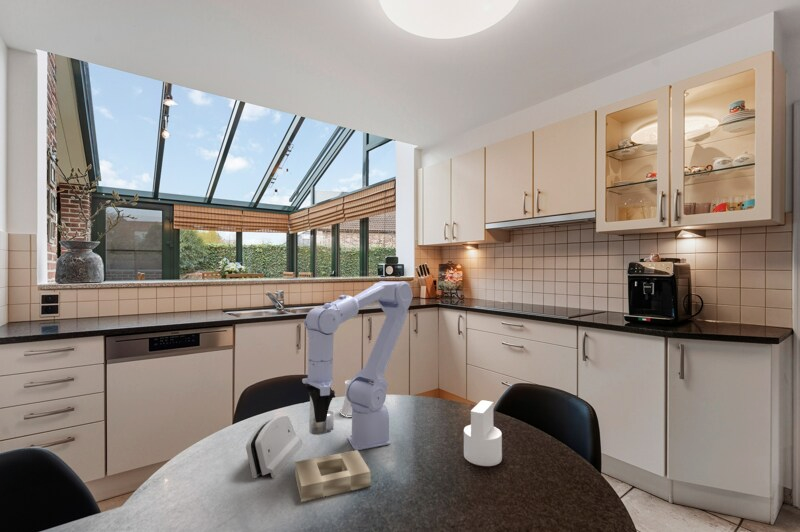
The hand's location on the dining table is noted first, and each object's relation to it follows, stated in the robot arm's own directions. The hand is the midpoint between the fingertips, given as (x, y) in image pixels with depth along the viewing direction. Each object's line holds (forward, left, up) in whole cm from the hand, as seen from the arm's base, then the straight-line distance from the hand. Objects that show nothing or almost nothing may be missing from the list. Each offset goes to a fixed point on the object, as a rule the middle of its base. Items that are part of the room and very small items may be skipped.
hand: (319, 418), depth 85 cm
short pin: (-5, -18, -11) cm, 22 cm away
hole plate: (-1, +8, -10) cm, 13 cm away
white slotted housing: (+9, -6, -11) cm, 16 cm away
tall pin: (0, 0, -3) cm, 3 cm away
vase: (-15, -27, -11) cm, 33 cm away
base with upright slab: (-37, +12, -11) cm, 41 cm away
